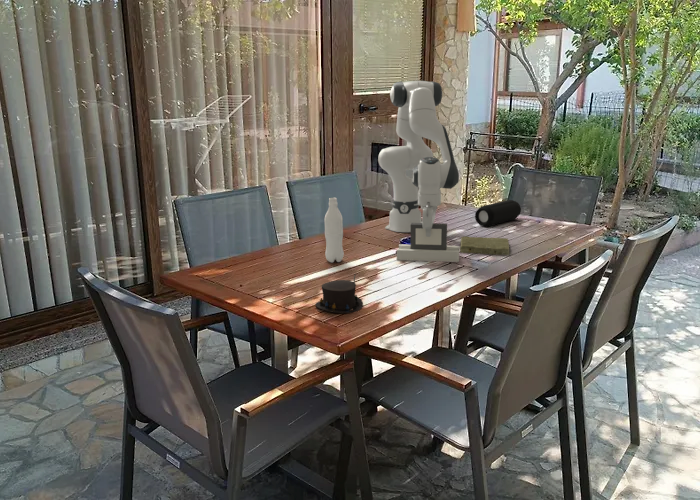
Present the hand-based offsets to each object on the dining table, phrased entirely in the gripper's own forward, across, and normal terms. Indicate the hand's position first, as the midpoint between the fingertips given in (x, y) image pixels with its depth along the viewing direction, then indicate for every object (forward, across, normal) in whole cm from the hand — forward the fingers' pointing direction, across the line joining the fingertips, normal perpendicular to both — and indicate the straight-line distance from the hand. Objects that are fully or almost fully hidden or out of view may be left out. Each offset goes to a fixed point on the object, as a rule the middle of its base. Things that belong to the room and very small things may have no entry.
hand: (428, 234), depth 245 cm
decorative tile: (+10, +17, -22) cm, 30 cm away
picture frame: (+6, 0, 0) cm, 6 cm away
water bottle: (+10, -9, +36) cm, 38 cm away
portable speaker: (+10, +66, -29) cm, 73 cm away
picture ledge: (+9, 0, 0) cm, 9 cm away
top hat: (+10, -58, +24) cm, 63 cm away
